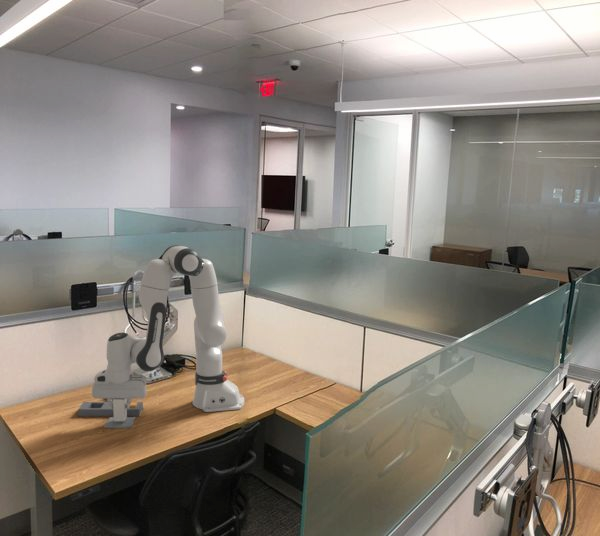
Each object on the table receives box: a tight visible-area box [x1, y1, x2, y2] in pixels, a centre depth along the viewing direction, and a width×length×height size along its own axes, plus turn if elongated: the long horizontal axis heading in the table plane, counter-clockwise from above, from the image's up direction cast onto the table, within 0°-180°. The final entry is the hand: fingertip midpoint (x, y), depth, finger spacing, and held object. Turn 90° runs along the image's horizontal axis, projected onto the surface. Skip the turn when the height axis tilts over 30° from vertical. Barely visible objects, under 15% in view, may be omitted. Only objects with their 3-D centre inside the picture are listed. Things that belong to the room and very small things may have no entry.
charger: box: [113, 398, 128, 421], centre depth 202 cm, size 4×4×11 cm
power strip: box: [77, 401, 144, 417], centre depth 211 cm, size 24×7×4 cm, turn 95°
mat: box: [103, 416, 136, 429], centre depth 203 cm, size 10×8×1 cm
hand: (120, 408), depth 202 cm, fingers closed on charger, 4 cm apart
